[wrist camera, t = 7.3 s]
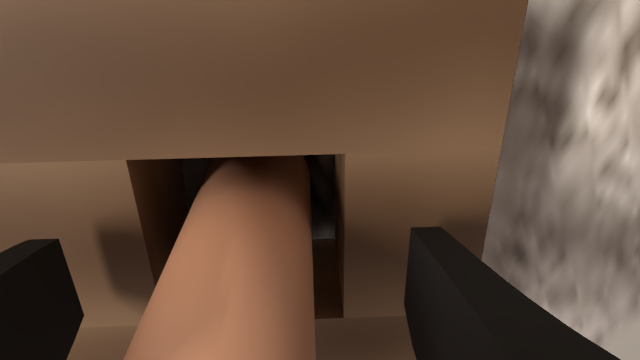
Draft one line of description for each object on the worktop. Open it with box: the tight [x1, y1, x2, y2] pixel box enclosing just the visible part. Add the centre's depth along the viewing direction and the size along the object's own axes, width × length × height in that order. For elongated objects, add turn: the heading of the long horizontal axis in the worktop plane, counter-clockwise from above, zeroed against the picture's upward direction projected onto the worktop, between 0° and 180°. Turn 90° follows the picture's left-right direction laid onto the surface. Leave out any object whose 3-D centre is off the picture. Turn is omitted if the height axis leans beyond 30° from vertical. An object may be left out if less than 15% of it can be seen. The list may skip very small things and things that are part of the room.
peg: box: [123, 155, 316, 360], centre depth 9 cm, size 3×3×9 cm
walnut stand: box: [0, 0, 528, 360], centre depth 12 cm, size 11×11×4 cm
